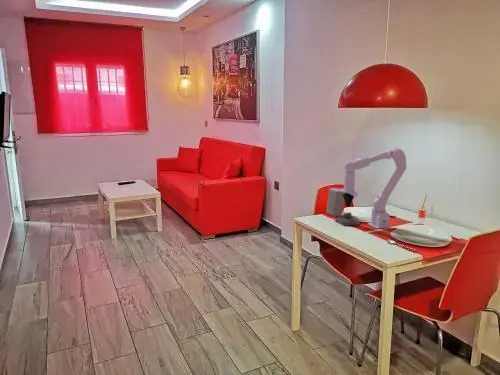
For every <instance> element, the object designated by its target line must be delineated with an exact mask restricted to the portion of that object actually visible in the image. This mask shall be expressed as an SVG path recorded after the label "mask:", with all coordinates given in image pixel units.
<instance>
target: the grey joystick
mask: <svg viewBox="0 0 500 375" xmlns="http://www.w3.org/2000/svg"><path fill="white" fill-rule="evenodd" d="M357 219H358V218H357V216H354V215H352V214H351V218H343V214H342V215H339V216H337V218H336V219H334V222H335V221H336V222H335V223H337V222H338V223H337V224H339V225H341V226H343V227H347V226H349V227H350V226H359V225H361V224H360V223H361V222H358V221H357Z"/></svg>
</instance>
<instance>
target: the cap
mask: <svg viewBox="0 0 500 375" xmlns="http://www.w3.org/2000/svg"><path fill="white" fill-rule="evenodd" d="M342 215H343V218H351V215H352V212H350V211H343V212H342Z"/></svg>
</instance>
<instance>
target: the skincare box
mask: <svg viewBox="0 0 500 375" xmlns="http://www.w3.org/2000/svg"><path fill="white" fill-rule="evenodd" d="M342 194H345V193H344V192H341V188H336V187H335V188H334V187H333V188H332V187H331V188H329V189H328V195H327V196H328V197H327V203H326V214H328V215H329V216H333V217H338V215H341V214H342V215H343V212H344V211H343V210H344V204H345V200H344V197H343V195H342Z"/></svg>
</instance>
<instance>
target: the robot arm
mask: <svg viewBox="0 0 500 375" xmlns="http://www.w3.org/2000/svg"><path fill="white" fill-rule="evenodd" d="M385 159H387V160H391V159H392V160H393V161H394V165H395V168H394V170H393V172H392V174H391V175H390V177H389V178H388V179H387V182H386V183H385V185H384V186H383V188H382V190H381V191H380V192H379V193H378V194H377V196H376V197H374V198H373V201H372V204H373V207H372V208H371V214H370V215H371V217H370V218H371V219H370V222H368V223H367V225H369V226H371V227H373V228H375V229H389V228H390V226H389V224H390V222H389V220H390V215H389V213H387V212H386V211H387V210H386V207H387V205H386V204H387V202H388V200H389V197H390V195H391V194H392V192H393V191H394V189H395V188H396V186H397V185H398V182H400V179H401V178H402V177H403V174H404V173H405V172H406V170H407V156H406V153H405V152H404V150H402V149H401V148H399V147H395V148H393V149H387V150H384V151H381V152H378V153H376V154H373V155H372V156H366V155H364V156H363V155H361V156H360V157H359V158H355V159H352V160H350V161H347V162H346V163H345V166H344V170H345V171H344V180H343V187H342V188H340V189H341V192H344V193H345V194H342V195H343V197H344V204H345V207H346V208H351V206H352V203H353V200H354V198H355V197H356V198H357V197H358V192H357V191H355V182H356V172H355V171H356V170H361V169H364V168H367V167H369V166H370V165H371V163H374V162H377V161H381V160H385Z"/></svg>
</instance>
